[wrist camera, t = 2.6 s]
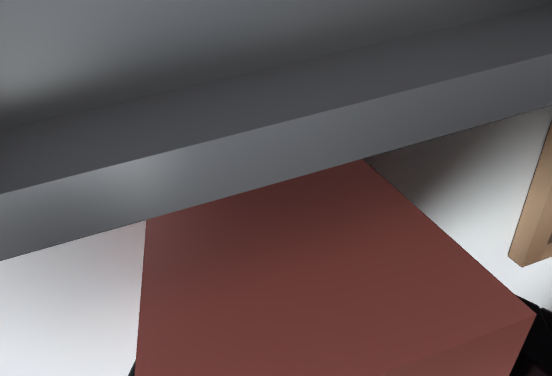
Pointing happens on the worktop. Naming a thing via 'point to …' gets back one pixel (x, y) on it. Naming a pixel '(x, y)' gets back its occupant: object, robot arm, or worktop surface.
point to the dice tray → (236, 97)
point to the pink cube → (320, 287)
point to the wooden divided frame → (536, 214)
